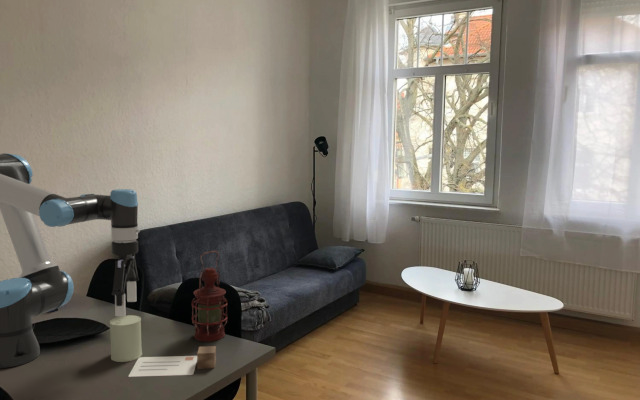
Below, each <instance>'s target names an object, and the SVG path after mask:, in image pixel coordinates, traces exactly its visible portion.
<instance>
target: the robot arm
mask: <svg viewBox="0 0 640 400" xmlns="http://www.w3.org/2000/svg"><path fill="white" fill-rule="evenodd" d="M33 176H34V175H33V169H32V166H31V165H30V163H29V162H28V160H26V158H24V157H23V156H21V155H18V154H13V153H12V154H11V153H0V213H1V215H2V218H3V221H4V224H5V227H6V229H7V232H8V235H9V237H10V240H11V243H12V246H13V249H14V251H15V254H16V258H17V259H18V262H19V265H20V268H21V271H22V272H21V273H20V275H19V277H14V278H13V277H12V278H10V279H7V278H6V279H3V280H0V369H5V368H12V367H17V366H22V365H25V364H28V363H30V362H32V361H34V360H35V359H37V358H38V357H39V356H40V354H41V353H40V352H41V351H40V343H39V342H38V340H37V337H36V335H35V333H34V331H33V318H35V317H37V316H40V315H43V314H45V313H49V312H48V311H51V310H55V309H58V310H59V309H60V308H61V307H63V306H65V305H66V304H68V303H69V302H70V301H71V299H72V296H73V295H74V281H73V279H72V277H71V275H70V274H67V273H68V272H66V271H64V270H61V269H60V268H59V267H60V266H59V265H58V264H57V263H56V262H55V263H54V262H52V260H51V257H50V254H49V252H48V250H47V249H48V248H47V247H46V244H45V240H44V238H43V236H42V233H41V230H40V227H39V225H38V223H37V219H36V217H35V216H37V217H39V218H40V220H41V222H43V223H44V225H46V226H47V227H51V228H52V227H53V228H55V227H57V228H58V227H64V226H68V225H72V224H73V225H74V224H78V223H84V222H90V221H94V220H95V221H96V220H105V221H110V226H111V227H110V231H111V241H112V242H111V253H112V254H113V255H115V256H116V255H117V256H118V259H117V260H115V261H114V275H113V285H112V292H111V296H114V310H115V311H114V315H115V317H120V316H126V313H127V311H126V300H127V303H135V302H137V281H139V280H140V278H139V274H138V269H137V262H136V254H138V252H139V241H138V240H137V239H139V233H140V231H141V230H140V229H139V226H138V215H139V214H138V205H139V202H138V194H137V191H136V190H134V189H128V188H127V189H123V188H121V189H120V188H119V189H112V190H111V191H110V194H109V195H105V194H95V193H88V194H87V193H84V194H81V195H79V196H76V197H75V196H73V197H64V196H61V195H59V194H56V193H54V192H52V191H47V190H45V189H43V188H41V187H39V186H34V185H32V184H31V183H32V182H33V181H32V180H33V178H32V177H33ZM125 289H126V293H125ZM51 312H52V311H51Z"/></svg>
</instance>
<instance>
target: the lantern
mask: <svg viewBox="0 0 640 400" xmlns="http://www.w3.org/2000/svg"><path fill="white" fill-rule="evenodd" d="M211 253H216V254H217V258H216V260H215V266H216V268H214V267H206V268H204V267H202V268H201V271H200V273H199V281H198V282H199V283H198V284H199V285H198V286H199V287H198V288H197V289H195V290H194V291H193V295H194V297H193V299H192V300H191V309H192V311H191V314H192V315H191V321H192V324H193V325H194V327H195V328H194V330H195V332H194V335H193V338H194V339H195V340H196V341H199V342H205V343H206V342H208V343H209V342H215V341H216V342H217V341H220V340H222V338H223V337H224V336H226V333H225V326H226V324H227V323H228V305H229V304H228V300H227V298H226V297H225V295H226V294H227V293H226V292H227V291H226V289H224V288H221V287H220V286H219V285H220V283H221V282H220V281H221V280H220V279H221V278H220V277H221V276H220V275H221V273H220V269H219V267H218V263H217V262H218V259H219V255H220V252H219V251H217V250H210V251H206V252H203V253H202V254H201V255H200V261H201V264H202V265H204V262H203V260H202V257H203V256H204V255H207V254H211ZM216 269H217V270H218V271H217V270H216ZM201 281H202V282H204V286H203V284H202V282H201ZM215 283H216V285H217V286H216V285H215ZM224 303H225V304H224ZM224 308H225V313H224ZM194 310H195V314H194ZM224 317H225V318H224ZM194 318H195V319H194ZM224 322H225V323H224ZM223 323H224V324H223ZM224 338H225V337H224ZM224 338H223V339H224Z"/></svg>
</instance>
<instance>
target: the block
mask: <svg viewBox="0 0 640 400" xmlns="http://www.w3.org/2000/svg"><path fill="white" fill-rule="evenodd" d="M196 356H197V362H196V366H197V367H196V369H197V370H199V369H201V370H202V369H215V367H216V363H217V346H215V345H213V346H198V350H197V354H196Z"/></svg>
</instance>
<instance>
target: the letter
mask: <svg viewBox="0 0 640 400" xmlns="http://www.w3.org/2000/svg"><path fill="white" fill-rule="evenodd" d="M196 366H197V355H183V356H182V355H181V356H180V355H179V356H178V355H174V356H170V355H169V356H141V357H139V358H138V359H136V362H135V364H134V366H133V367H132V369H131V371H130V373H129V374H128V378H130V377H131V378H133V377H134V378H135V377H158V376H159V377H161V376H162V377H163V376H166V377H167V376H191V375H192V376H193V375H194V372H195V369H196Z"/></svg>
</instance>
